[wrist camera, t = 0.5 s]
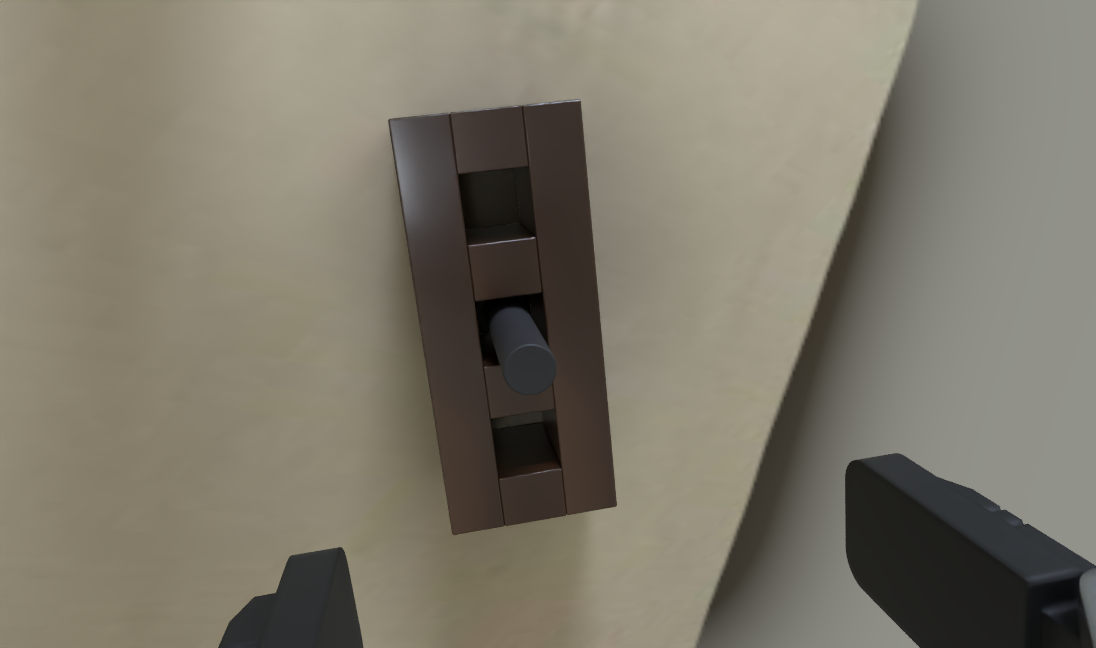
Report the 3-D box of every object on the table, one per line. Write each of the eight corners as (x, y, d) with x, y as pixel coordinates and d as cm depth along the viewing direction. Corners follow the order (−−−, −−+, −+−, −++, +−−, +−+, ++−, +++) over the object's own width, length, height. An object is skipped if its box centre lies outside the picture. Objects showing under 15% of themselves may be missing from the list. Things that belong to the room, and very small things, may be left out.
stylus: (479, 286, 38) (499, 348, 26) (517, 281, 38) (554, 340, 27) (484, 323, 38) (506, 400, 27) (521, 318, 39) (560, 391, 27)
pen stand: (449, 479, 40) (452, 536, 34) (394, 123, 35) (387, 118, 30) (591, 456, 41) (617, 507, 35) (557, 106, 36) (580, 98, 30)
